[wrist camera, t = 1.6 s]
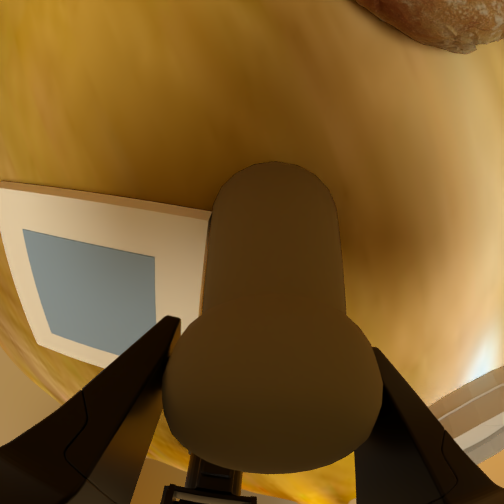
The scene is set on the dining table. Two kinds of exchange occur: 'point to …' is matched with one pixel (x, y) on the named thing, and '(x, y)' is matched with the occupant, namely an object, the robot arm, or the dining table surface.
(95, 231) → the plate
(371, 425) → the cork
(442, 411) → the dish
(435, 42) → the bread roll
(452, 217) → the dining table surface
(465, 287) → the dining table surface
